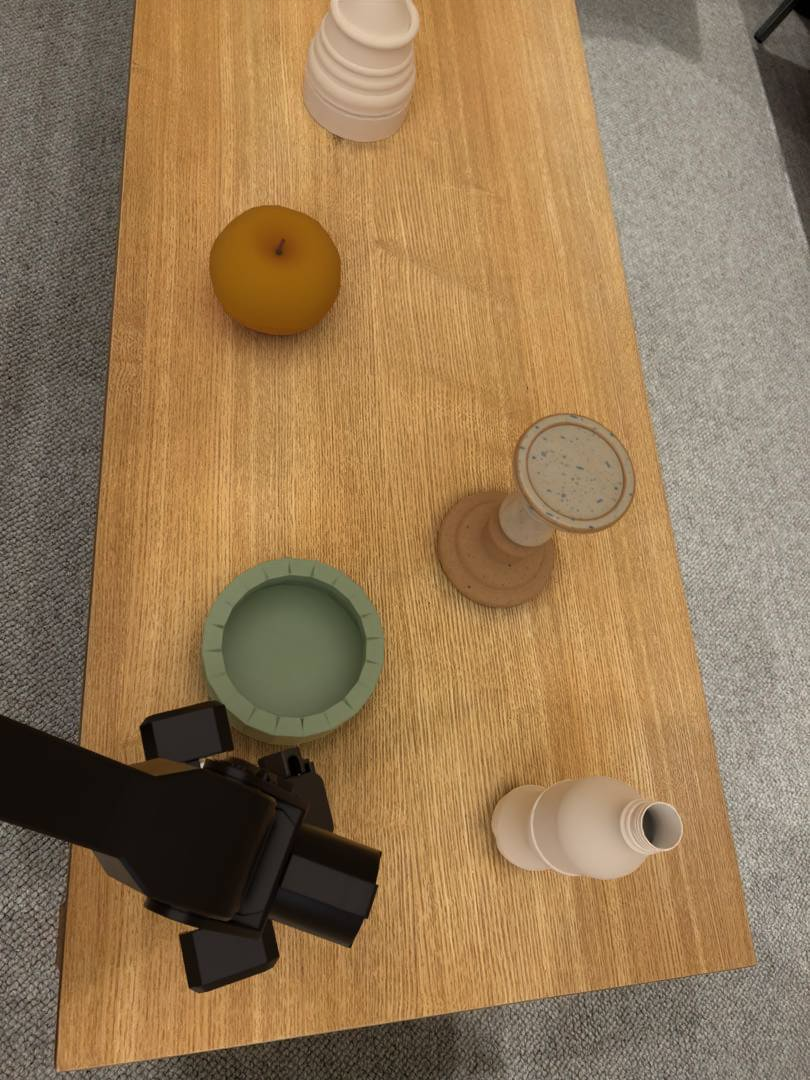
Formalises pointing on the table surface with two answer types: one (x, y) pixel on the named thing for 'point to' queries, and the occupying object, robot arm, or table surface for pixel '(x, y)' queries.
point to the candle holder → (536, 510)
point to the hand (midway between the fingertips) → (207, 837)
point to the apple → (275, 270)
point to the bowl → (292, 650)
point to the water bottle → (583, 827)
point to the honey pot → (362, 68)
